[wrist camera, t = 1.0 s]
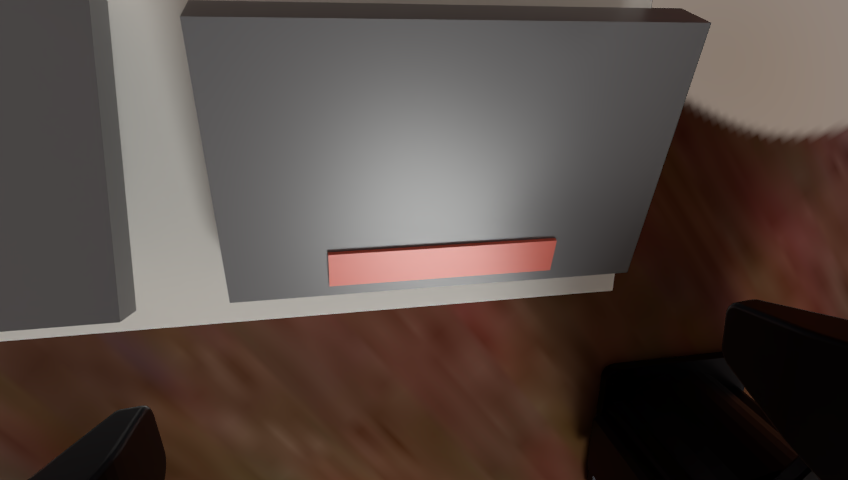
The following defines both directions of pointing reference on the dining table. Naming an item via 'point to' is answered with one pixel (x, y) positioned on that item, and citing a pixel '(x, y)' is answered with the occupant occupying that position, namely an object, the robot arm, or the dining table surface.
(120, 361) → the dining table surface
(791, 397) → the robot arm
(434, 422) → the dining table surface
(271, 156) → the panel
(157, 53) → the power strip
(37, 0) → the outer rocker
